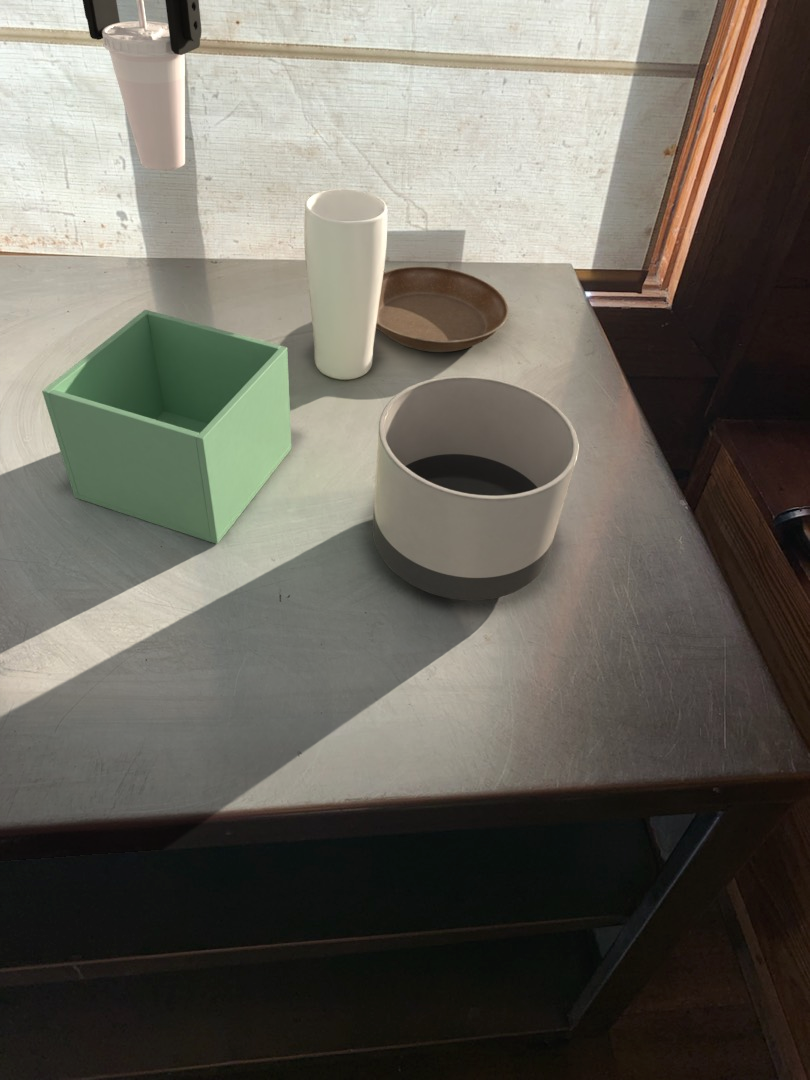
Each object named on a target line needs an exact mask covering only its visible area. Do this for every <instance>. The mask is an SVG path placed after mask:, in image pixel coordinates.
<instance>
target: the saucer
mask: <svg viewBox="0 0 810 1080" xmlns="http://www.w3.org/2000/svg"><path fill="white" fill-rule="evenodd" d="M508 317H509V305H508V303H507V300H506V298H505V297H504V296H503V294H502V293H501V292H500V291H499V290H498V289H497V288H495V286H493V285H491V284H490V283H489V282H487V281H485V280H483V279H481V278H479V277H476V276H475V275H472V274H469V273H466V272H464V271H460V270H456V269H450V268H445V267H439V266H428V265H427V266H426V265H425V266H423V265H419V266H415V265H414V266H403V267H398V268H393V269H389V270H386V271H384V274H383V281H382V288H381V294H380V301H379V308H378V316H377V323H376V329H378V330H379V331H380V332H382V333H383V334H384V335H385V336H387V337H388V338H390V339H391V340H393V341H395V342H396V343H398V344H400V345H403V346H405V347H408V348H411V349H414V350H418V351H423V352H429V353H430V352H431V353H451V352H457V351H463V350H465V349H469V348H471V347H474V346H475V345H478V344H480V343H482V342H483V341H485V340H487V339H489V338H490V337H491V336H492V335H494V334H495V333H496V332H497V331H498V330H499V329H500V328H501V327H502V326H503V325H504V324H505V322H506V321H507V319H508Z"/></svg>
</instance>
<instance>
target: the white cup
mask: <svg viewBox="0 0 810 1080" xmlns="http://www.w3.org/2000/svg"><path fill="white" fill-rule="evenodd" d="M303 214H304V219H303V223H304V224H303V239H304V240H303V243H304V258H305V269H306V278H307V287H308V295H309V305H310V315H311V324H312V333H313V345H314V347H313V348H314V364H315V365H316V368H317V369H318V371H319V372H320V373H321V374H323V375H325V377H326V376H327V377H328V378H331V379H334V380H340V381H343V380H344V381H347V380H354V379H358V378H361V377H363V376H365V375H366V374H367V373H369V371H370V370H371V368H372V366H373V360H374V344H375V337H376V329H377V327H376V323H377V316H378V308H379V301H380V294H381V288H382V281H383V274H384V272H385V265H386V258H387V257H386V256H387V243H388V206H387V204H386V203H385V201H384V200H383V199H381V198H380V197H378V196H377V195H374V194H372V193H369V192H367V191H366V192H365V191H363V190H356V189H347V188H336V189H327V190H322V191H319V192H315V193H314V194H312V195H310V196H309V197H307V199H306V201H305V203H304V213H303Z"/></svg>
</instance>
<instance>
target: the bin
mask: <svg viewBox="0 0 810 1080" xmlns="http://www.w3.org/2000/svg"><path fill="white" fill-rule="evenodd" d="M289 379H290V378H289V357H288V347H287V346H283V345H279V344H275V343H272V342H268V341H265V340H261V339H257V338H254V337H249V336H245V335H242V334H238V333H234V332H232V331H231V332H230V331H227V330H223V329H219V328H216V327H213V326H208V325H206V324H205V325H204V324H201V323H197V322H194V321H189V320H186V319H182V318H179V317H174V316H172V315H167V314H163V313H159V312H156V311H152V310H148V309H144V310H143V311H141V312H140V313H138V314H137V315H136V316H135V317H133V318H131V320H129V322H128V323H126V324H125V325H124V326H122V327H121V328H120V329H119V330H117V331H116V332H115V333H114V334H112V335H111V336H110V337H109V338H107V339H106V340H104V341H103V342H102V343H101V344H99V345H98V346H97V347H95V348H94V349H93V350H92V351H91V352H89V353H88V354H87V355H85V356H84V357H83V358H81V359H80V361H78V362H76V364H74V365H73V366H72V367H71V368H69V369H68V370H66V372H64V373H63V374H61V375H60V376H59V377H58V378H56V379H54V381H53V382H51V383H50V384H49V385H48V386H46V387H45V388H44V389H43V390H42V396H43V399H44V402H45V405H46V408H47V412H48V415H49V419H50V422H51V425H52V428H53V432H54V435H55V438H56V441H57V442H56V443H57V445H58V449H59V452H60V454H61V458H62V461H63V464H64V467H65V470H66V474H67V477H68V481H69V484H70V487H71V491H72V494H73V496H74V498H75V499H78V500H81V501H84V502H86V503H87V502H88V503H91V504H93V505H96V506H100V507H102V508H105V509H109V510H112V511H115V512H117V513H120V514H124V515H126V516H131V517H133V518H137V519H139V520H142V521H145V522H149V523H152V524H154V525H158V526H160V527H164V528H166V529H170V530H172V531H176V532H179V533H182V534H186V535H188V536H190V537H194V538H197V539H200V540H203V541H206V542H209V543H213V544H215V545H219V543H220V542H221V541H222V539H223V538H224V537H225V535H226V534H228V532H229V530H230V529H231V528H232V526H233V525H234V524H235V522H236V521H237V520H238V519H239V517H240V516H241V515H242V514H243V512H244V511H245V510H246V508H247V507H248V506H249V505H250V503H251V502H252V501H253V499H254V498H255V497H256V495H257V494H258V493H259V492H260V490H261V489H262V488H263V486H264V485H265V484H266V482H267V481H268V480H269V478H270V477H271V476H272V475H273V473H274V472H275V471H276V469H277V468H278V467H279V466H280V464H281V463H282V462H283V460H284V459H285V458H286V457H287V455H289V453H290V452H291V450H292V428H291V427H292V426H291V406H290V405H291V404H290V403H291V402H290V382H289V381H290V380H289Z"/></svg>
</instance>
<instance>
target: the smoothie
mask: <svg viewBox="0 0 810 1080" xmlns="http://www.w3.org/2000/svg"><path fill="white" fill-rule="evenodd" d="M144 3H145V2H144V0H135V5H136V13H137V20H133V21H120V23H116V24H112V25H109V26H107V27H105V28H104V29H103V30H102V35H103V39H102V41H103V47H104V48H105V50H107V51H108V53H109V56H110V60H111V63H112V66H113V70H114V74H115V77H116V81H117V85H118V88H119V91H120V95H121V99H122V102H123V105H124V109H125V113H126V116H127V119H128V123H129V125H130V126H129V127H130V130H131V134H132V137H133V141H134V145H135V148H136V151H137V155H138V159H139V162H140V165H141V166H142V167H144V168H146V169H149V170H153V171H171V170H177V169H179V168H182V167H183V166H184V165H185V164H186V101H185V100H186V82H185V81H186V79H185V78H186V63H185V60H186V58H185V54H186V53H185V54H183V55H178V54H174V52H173V51H172V49H171V42H170V34H169V26H168V22H162V21H161V22H160V21H149V20H147V17H146V10H145V4H144Z"/></svg>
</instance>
